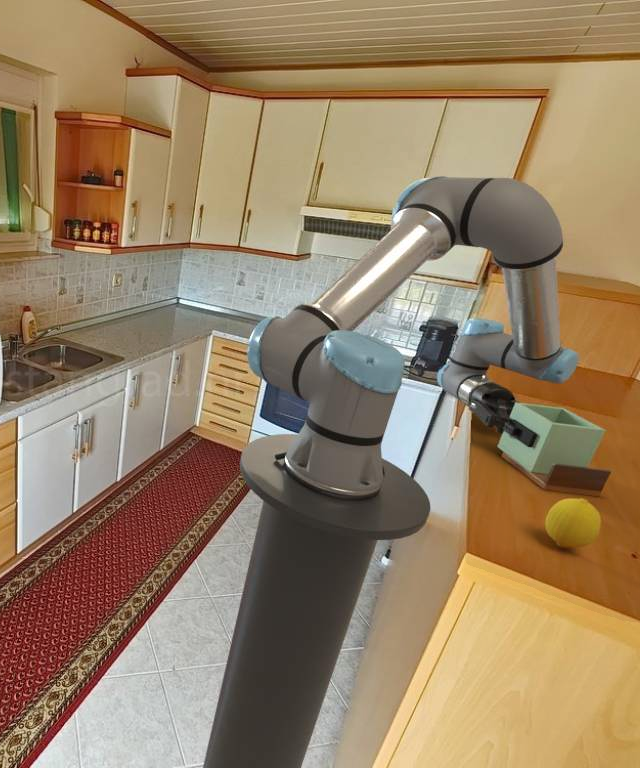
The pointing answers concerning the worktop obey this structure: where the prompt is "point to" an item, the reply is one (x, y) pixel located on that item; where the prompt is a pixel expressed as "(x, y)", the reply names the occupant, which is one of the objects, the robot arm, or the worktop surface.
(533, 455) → the container
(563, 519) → the lemon
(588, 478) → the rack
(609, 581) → the worktop surface
